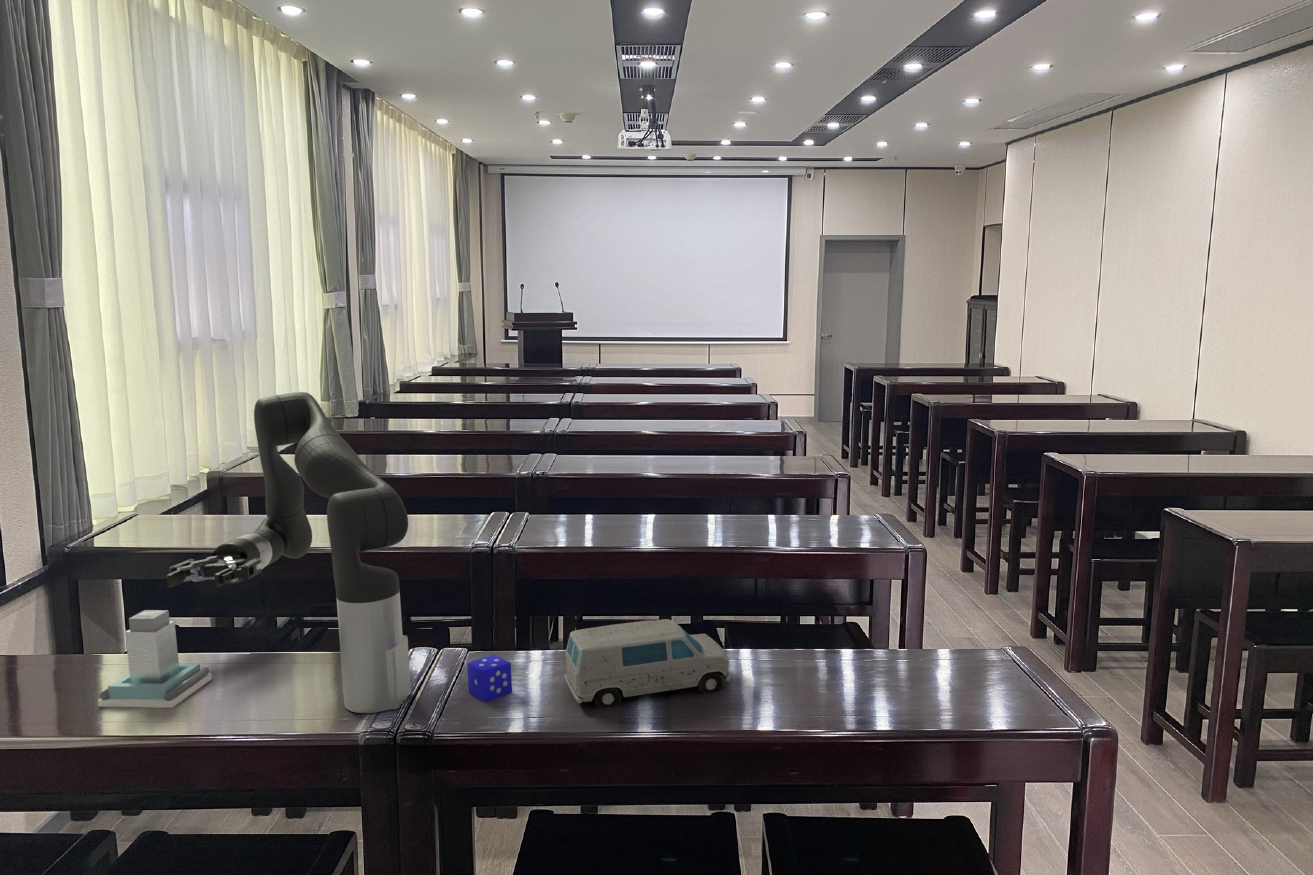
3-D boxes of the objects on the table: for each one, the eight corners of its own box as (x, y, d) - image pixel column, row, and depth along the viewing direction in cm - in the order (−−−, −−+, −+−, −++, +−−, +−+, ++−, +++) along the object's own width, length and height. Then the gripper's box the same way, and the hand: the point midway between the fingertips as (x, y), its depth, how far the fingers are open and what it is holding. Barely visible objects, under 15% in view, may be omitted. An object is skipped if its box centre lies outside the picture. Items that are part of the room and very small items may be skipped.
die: (468, 692, 148) (466, 662, 147) (495, 683, 151) (494, 654, 150) (485, 702, 144) (483, 671, 144) (512, 692, 148) (511, 662, 147)
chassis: (211, 679, 156) (209, 661, 155) (171, 707, 145) (170, 689, 144) (143, 678, 157) (141, 660, 156) (98, 706, 146) (96, 688, 145)
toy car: (733, 691, 146) (732, 630, 145) (576, 714, 139) (574, 650, 138) (710, 666, 156) (709, 608, 155) (563, 686, 150) (561, 626, 148)
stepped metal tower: (180, 680, 153) (173, 609, 151) (161, 693, 148) (154, 619, 146) (151, 679, 153) (143, 609, 151) (131, 692, 148) (123, 619, 147)
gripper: (204, 538, 175) (150, 560, 159) (277, 536, 174) (231, 558, 158) (208, 577, 176) (155, 603, 160) (281, 576, 175) (235, 602, 159)
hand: (193, 581), depth 159 cm, fingers open, 8 cm apart
